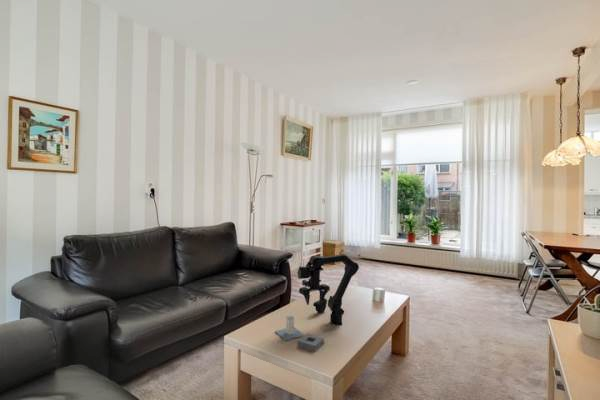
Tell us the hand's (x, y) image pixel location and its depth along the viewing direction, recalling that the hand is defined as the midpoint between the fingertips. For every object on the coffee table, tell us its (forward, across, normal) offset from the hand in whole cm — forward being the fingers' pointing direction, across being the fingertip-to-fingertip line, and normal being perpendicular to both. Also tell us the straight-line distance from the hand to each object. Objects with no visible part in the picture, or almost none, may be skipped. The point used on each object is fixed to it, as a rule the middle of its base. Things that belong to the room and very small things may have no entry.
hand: (314, 303), depth 178 cm
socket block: (+13, +15, +19) cm, 27 cm away
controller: (+13, -15, -14) cm, 24 cm away
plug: (+12, +18, +3) cm, 22 cm away
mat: (+13, +18, +3) cm, 23 cm away
